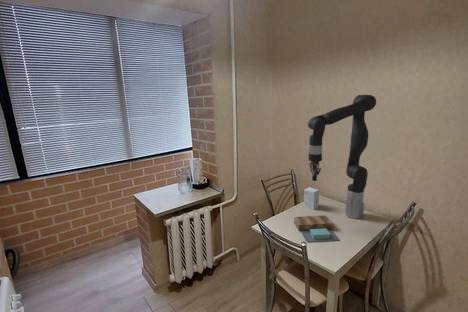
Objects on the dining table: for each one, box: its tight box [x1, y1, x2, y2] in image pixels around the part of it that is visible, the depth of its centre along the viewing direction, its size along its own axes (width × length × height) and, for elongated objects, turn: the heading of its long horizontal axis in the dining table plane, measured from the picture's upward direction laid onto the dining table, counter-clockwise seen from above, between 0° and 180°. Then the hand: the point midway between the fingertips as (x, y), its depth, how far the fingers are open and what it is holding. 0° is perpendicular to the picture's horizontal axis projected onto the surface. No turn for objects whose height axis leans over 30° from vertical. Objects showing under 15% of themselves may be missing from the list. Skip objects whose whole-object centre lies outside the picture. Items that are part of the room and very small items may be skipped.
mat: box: [300, 230, 341, 243], centre depth 138 cm, size 18×11×1 cm, turn 92°
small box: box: [303, 186, 320, 211], centre depth 173 cm, size 8×6×13 cm
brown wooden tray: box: [293, 214, 334, 232], centre depth 148 cm, size 20×10×4 cm, turn 92°
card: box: [310, 229, 330, 239], centre depth 137 cm, size 9×6×2 cm, turn 92°
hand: (314, 180), depth 149 cm, fingers closed
